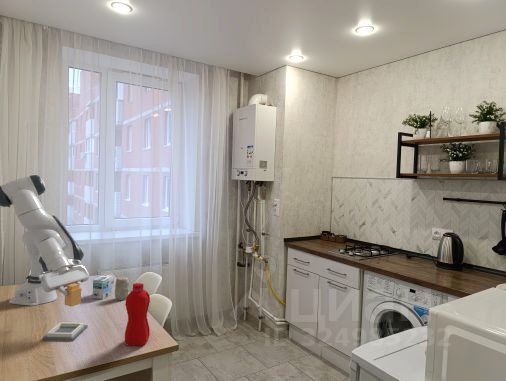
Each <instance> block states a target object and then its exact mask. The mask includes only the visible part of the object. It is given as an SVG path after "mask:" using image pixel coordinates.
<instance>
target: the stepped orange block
mask: <svg viewBox="0 0 506 381" xmlns="http://www.w3.org/2000/svg"><path fill="white" fill-rule="evenodd" d="M81 288H82V287H81ZM81 288H79V284H75V283H73V284H70V285H67V287H65V288H64V289H65V290H66V291H69V293H70V294H69V295H68V296H64V305H65V306H67V307H70V308H71V307H75V306H78V305H81V303H82V291H81Z"/></svg>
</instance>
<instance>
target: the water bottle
mask: <svg viewBox="0 0 506 381" xmlns="http://www.w3.org/2000/svg"><path fill="white" fill-rule="evenodd" d="M144 287H145V286H144V283H142V282H135V283H132V291H129V292H128V296H127V298H126V299H125V303H124V305H125V309H126V313H127V324H126V327H125V331H124V343H125V344H126V345H127V346H131V347H132V346H135V347H136V346H137V347H138V346H143V345H145V344H146V343H147V342H148V340H149V338H150V324H149V320H148V311H149V307H150V303H151V297H150V294H149V292H148V291H147V290H146V289H145V288H144Z"/></svg>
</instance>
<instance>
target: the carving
mask: <svg viewBox="0 0 506 381" xmlns="http://www.w3.org/2000/svg"><path fill="white" fill-rule="evenodd" d="M129 280H130V279H129V277H127V276H120V277H119V276H118V277H117V278H116V281H115V283H114V284H115V285H114V286H115V287H114V298H115V299H116V300H119V301H123V300H125V301H126V298H127V296H128V294H129V293H130V287H129V286H130V284H129V282H130V281H129Z"/></svg>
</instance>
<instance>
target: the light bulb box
mask: <svg viewBox="0 0 506 381" xmlns="http://www.w3.org/2000/svg"><path fill="white" fill-rule="evenodd" d="M114 284H115V275H109V274H103V275H101V276H99V277H95V278H94V279H92V299H97V300H105V299H106V298H108V297H110V296H112V295H113V293H114V294H115V287H114V286H115V285H114Z"/></svg>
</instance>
